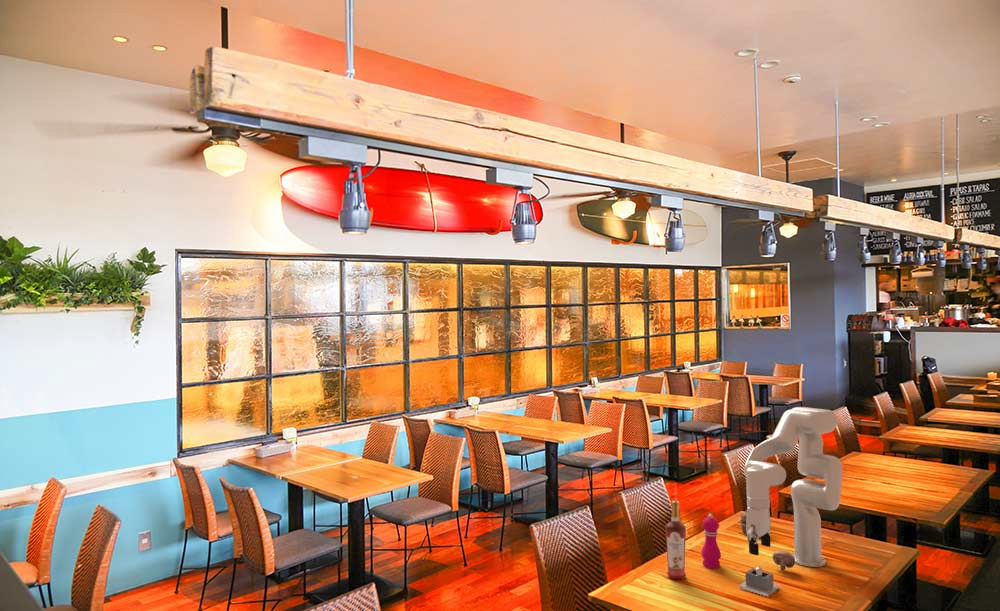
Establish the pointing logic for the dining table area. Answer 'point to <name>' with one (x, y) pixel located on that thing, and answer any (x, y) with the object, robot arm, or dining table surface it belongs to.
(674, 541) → the liquor
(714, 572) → the dining table surface
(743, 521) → the cupcake
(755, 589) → the keeper
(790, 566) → the mushroom
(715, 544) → the pepper mill
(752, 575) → the grey rectangular frame
